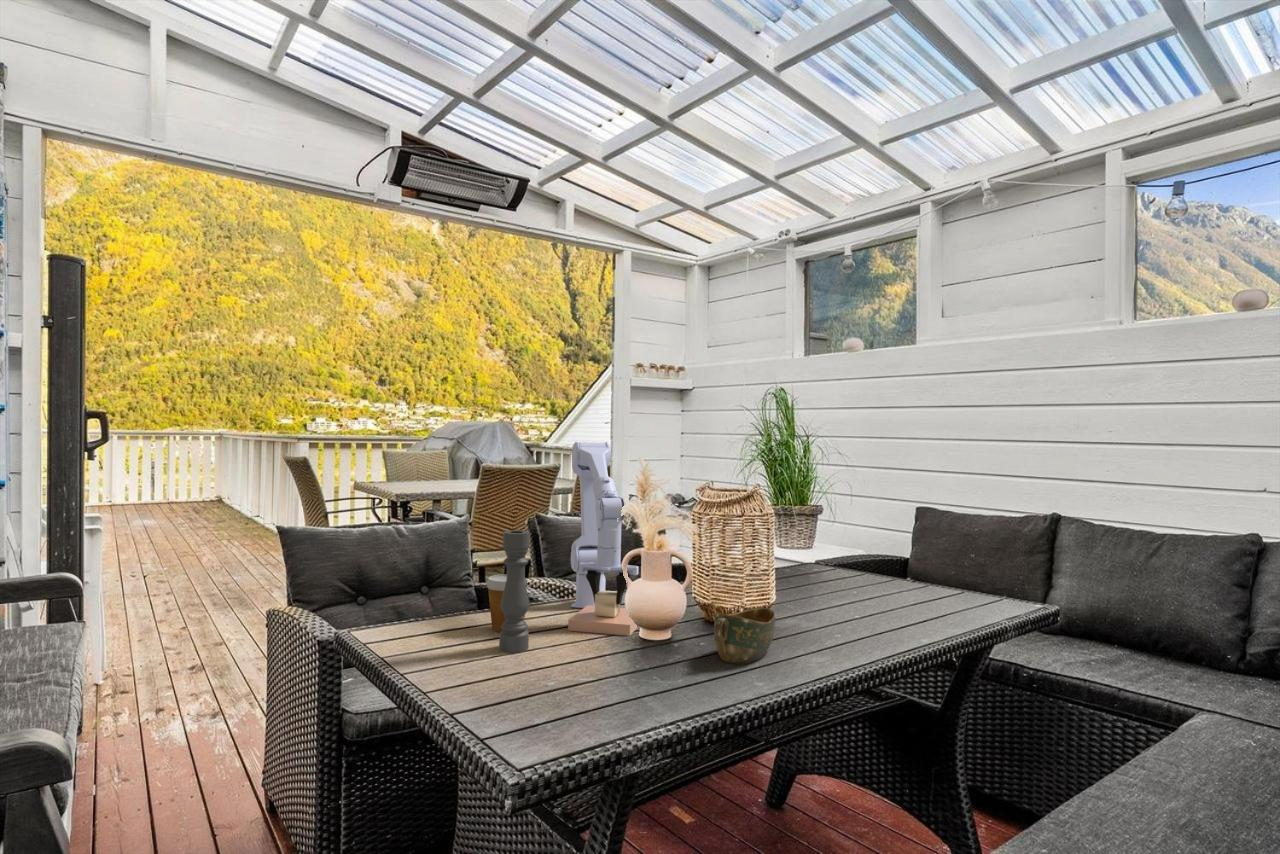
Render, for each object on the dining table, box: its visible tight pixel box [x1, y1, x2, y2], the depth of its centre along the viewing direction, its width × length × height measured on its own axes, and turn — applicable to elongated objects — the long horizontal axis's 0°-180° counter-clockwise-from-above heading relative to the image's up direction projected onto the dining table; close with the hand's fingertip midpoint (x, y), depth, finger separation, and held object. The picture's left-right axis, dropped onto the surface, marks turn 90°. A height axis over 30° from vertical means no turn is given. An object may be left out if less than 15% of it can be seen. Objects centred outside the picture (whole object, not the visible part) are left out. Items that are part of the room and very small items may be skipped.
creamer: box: [713, 607, 776, 665], centre depth 156 cm, size 13×20×10 cm, turn 116°
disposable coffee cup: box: [485, 573, 528, 633], centre depth 172 cm, size 10×10×12 cm
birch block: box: [595, 590, 621, 617], centre depth 177 cm, size 5×5×5 cm
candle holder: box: [498, 529, 531, 654], centre depth 157 cm, size 6×6×25 cm
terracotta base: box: [567, 605, 638, 637], centre depth 178 cm, size 15×15×2 cm
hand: (607, 602), depth 178 cm, fingers closed on birch block, 5 cm apart
